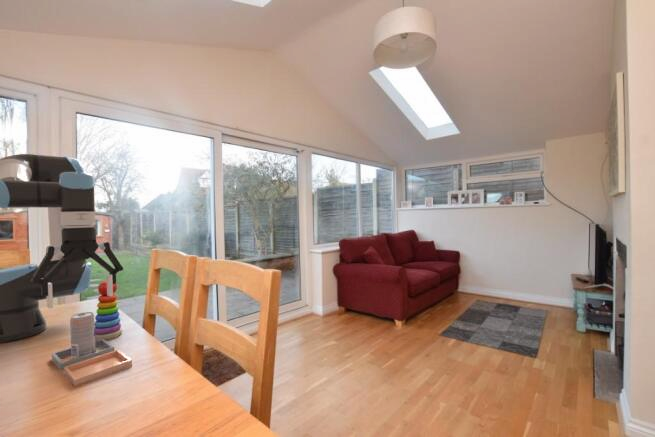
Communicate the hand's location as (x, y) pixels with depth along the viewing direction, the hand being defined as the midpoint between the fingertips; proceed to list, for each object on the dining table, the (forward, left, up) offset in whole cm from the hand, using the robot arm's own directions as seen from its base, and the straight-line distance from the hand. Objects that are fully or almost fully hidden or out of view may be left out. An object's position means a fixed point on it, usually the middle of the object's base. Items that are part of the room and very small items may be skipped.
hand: (81, 301), depth 86 cm
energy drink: (0, 0, -16) cm, 16 cm away
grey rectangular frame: (0, 0, -16) cm, 16 cm away
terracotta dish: (+13, 0, -16) cm, 20 cm away
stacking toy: (-11, +9, -16) cm, 22 cm away
